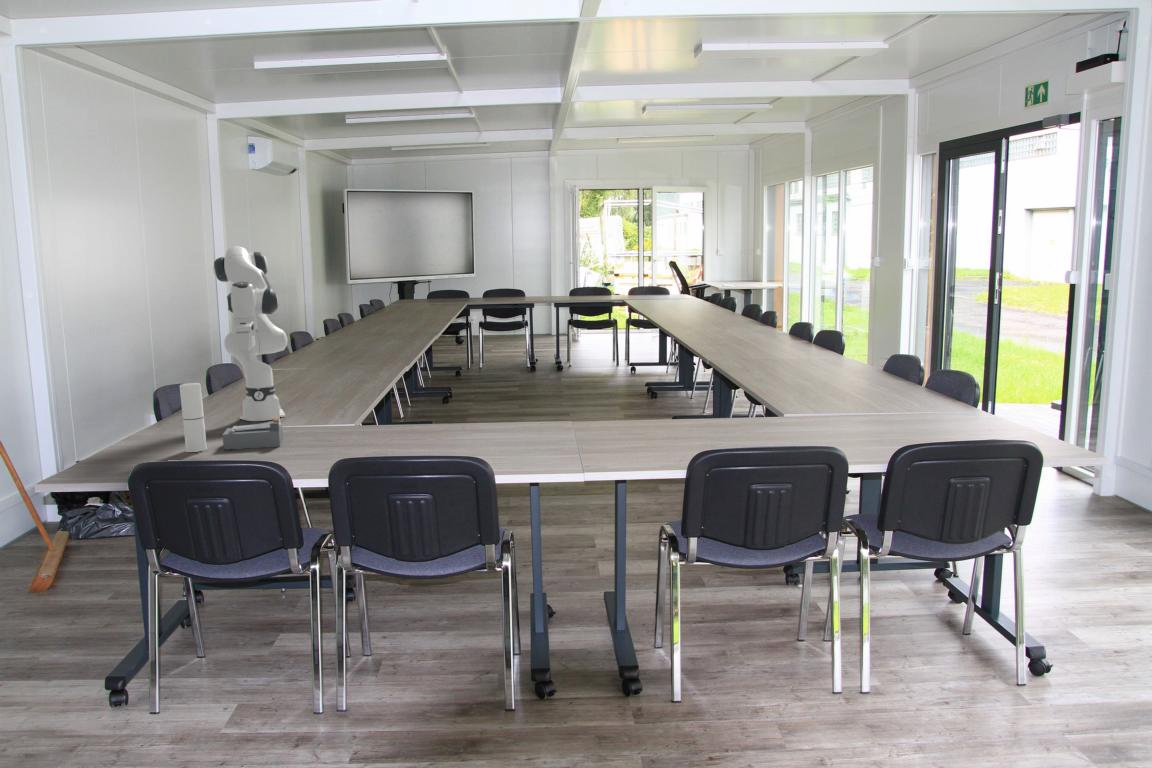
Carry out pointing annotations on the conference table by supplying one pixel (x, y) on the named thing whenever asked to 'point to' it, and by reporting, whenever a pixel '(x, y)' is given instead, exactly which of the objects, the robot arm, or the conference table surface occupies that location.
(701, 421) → the conference table surface
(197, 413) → the cylindrical container
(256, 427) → the lever
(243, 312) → the robot arm
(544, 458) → the conference table surface
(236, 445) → the clamp block
